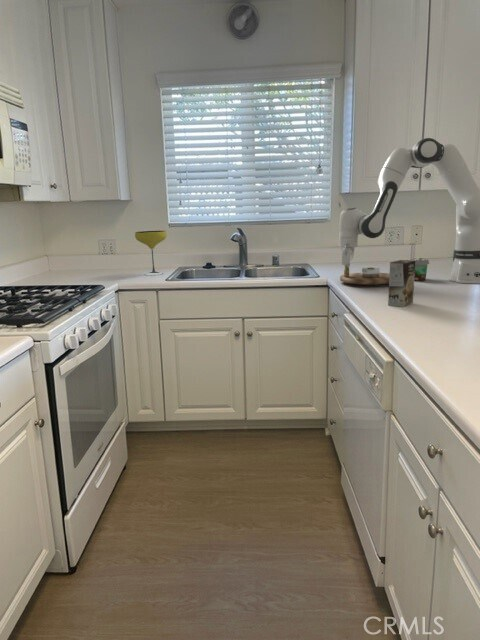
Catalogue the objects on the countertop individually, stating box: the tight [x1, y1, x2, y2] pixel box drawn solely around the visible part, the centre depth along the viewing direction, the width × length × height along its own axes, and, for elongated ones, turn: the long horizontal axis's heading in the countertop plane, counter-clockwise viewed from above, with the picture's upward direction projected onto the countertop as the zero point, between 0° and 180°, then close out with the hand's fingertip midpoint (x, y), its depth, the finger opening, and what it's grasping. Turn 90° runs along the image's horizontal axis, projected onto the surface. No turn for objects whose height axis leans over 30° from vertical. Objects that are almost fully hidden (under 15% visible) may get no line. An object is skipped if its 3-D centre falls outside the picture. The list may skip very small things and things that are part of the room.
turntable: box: [339, 267, 390, 286], centre depth 223 cm, size 28×28×5 cm
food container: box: [414, 257, 430, 282], centre depth 225 cm, size 12×6×10 cm, turn 143°
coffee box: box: [387, 259, 416, 308], centre depth 175 cm, size 9×6×16 cm
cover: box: [361, 267, 381, 278], centre depth 222 cm, size 8×8×4 cm
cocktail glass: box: [134, 230, 167, 273], centre depth 277 cm, size 18×18×25 cm
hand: (346, 272), depth 227 cm, fingers closed
